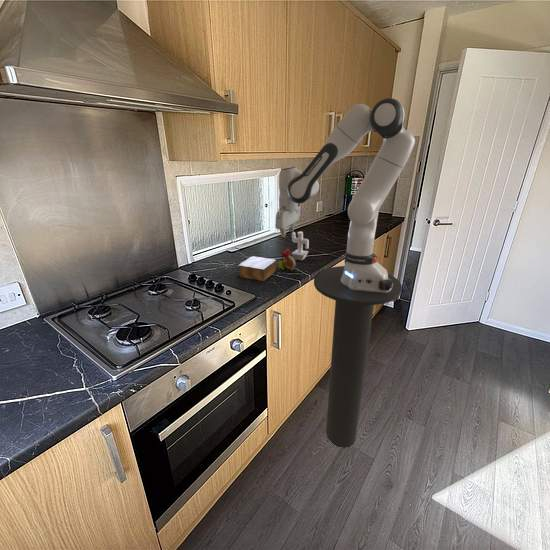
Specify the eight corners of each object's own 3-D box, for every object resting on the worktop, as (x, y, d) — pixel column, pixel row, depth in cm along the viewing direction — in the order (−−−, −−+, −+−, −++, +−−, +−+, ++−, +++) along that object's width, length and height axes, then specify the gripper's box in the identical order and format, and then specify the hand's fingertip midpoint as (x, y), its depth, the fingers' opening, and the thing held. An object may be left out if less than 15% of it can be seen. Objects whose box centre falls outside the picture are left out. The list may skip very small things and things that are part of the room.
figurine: (305, 262, 156) (306, 234, 150) (289, 259, 160) (289, 232, 154) (310, 257, 162) (311, 231, 156) (294, 255, 166) (295, 229, 160)
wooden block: (276, 271, 145) (276, 259, 143) (264, 281, 134) (263, 269, 131) (252, 267, 150) (252, 256, 148) (238, 276, 139) (237, 265, 137)
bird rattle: (295, 272, 149) (281, 262, 152) (302, 254, 142) (288, 244, 145) (288, 276, 144) (274, 265, 147) (295, 258, 138) (281, 248, 141)
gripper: (285, 209, 124) (284, 240, 130) (301, 201, 141) (301, 229, 147) (271, 208, 127) (272, 239, 132) (289, 200, 144) (289, 228, 149)
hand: (287, 234), depth 140 cm, fingers open, 8 cm apart
